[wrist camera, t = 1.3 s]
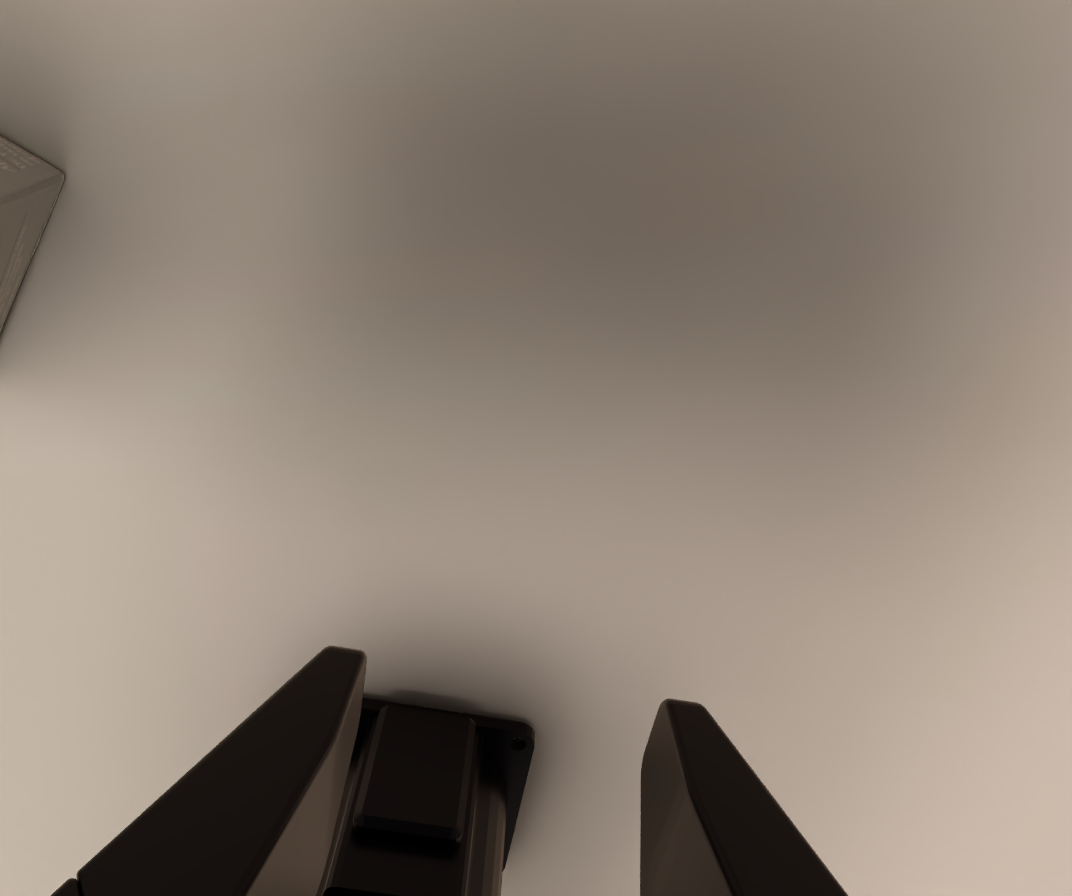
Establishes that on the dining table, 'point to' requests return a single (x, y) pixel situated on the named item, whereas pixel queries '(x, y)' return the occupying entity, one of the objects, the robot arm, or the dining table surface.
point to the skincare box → (22, 214)
